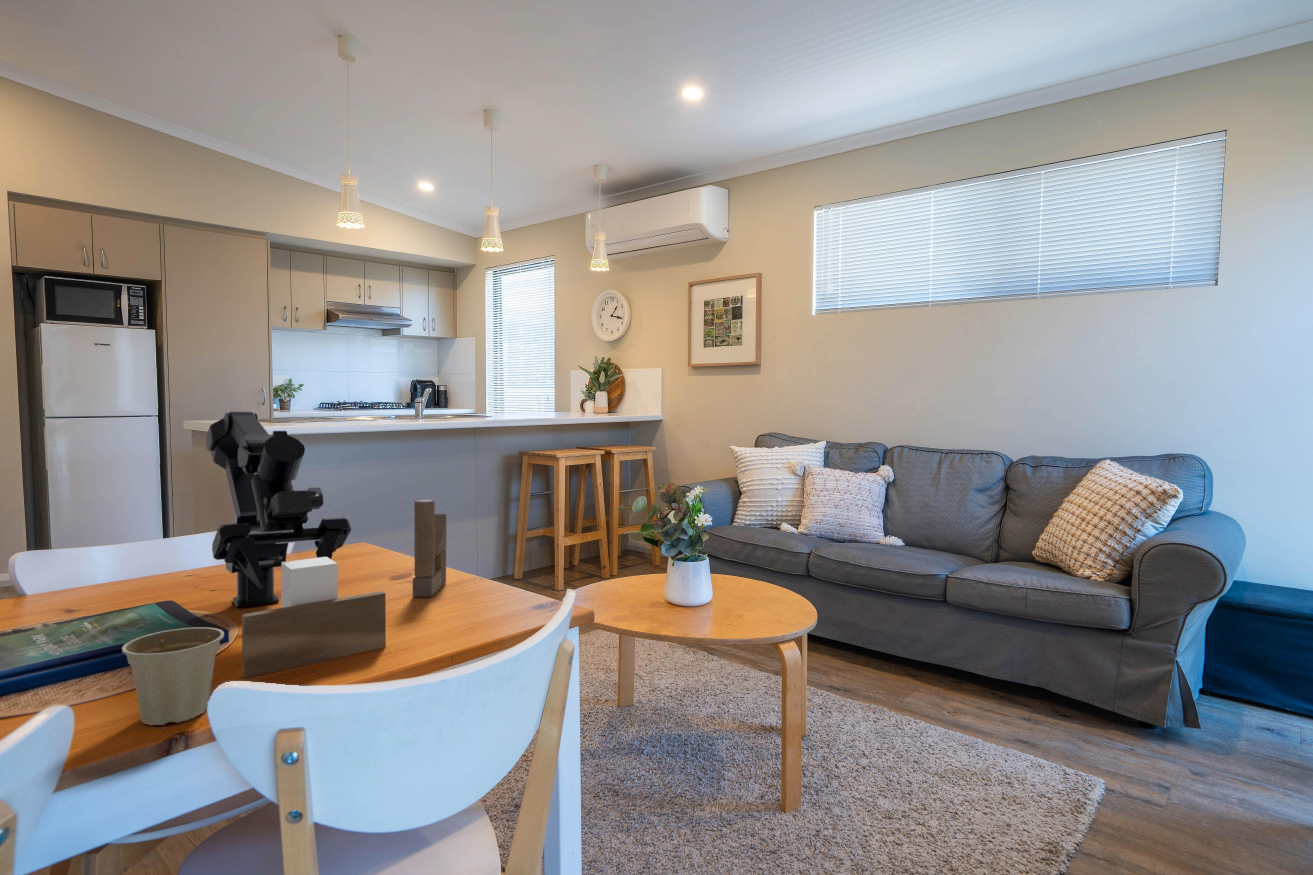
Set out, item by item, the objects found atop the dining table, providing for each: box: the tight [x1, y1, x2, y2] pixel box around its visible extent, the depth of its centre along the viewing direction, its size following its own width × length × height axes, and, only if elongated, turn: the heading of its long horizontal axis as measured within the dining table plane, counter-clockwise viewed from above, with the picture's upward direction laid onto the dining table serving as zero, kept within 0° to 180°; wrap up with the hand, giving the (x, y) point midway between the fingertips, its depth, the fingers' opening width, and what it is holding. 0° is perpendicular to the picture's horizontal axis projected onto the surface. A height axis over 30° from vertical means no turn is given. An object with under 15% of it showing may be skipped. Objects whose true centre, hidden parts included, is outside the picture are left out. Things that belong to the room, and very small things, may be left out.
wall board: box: [241, 590, 387, 679], centre depth 94 cm, size 3×18×8 cm, turn 132°
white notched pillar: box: [280, 557, 339, 608], centre depth 97 cm, size 6×6×13 cm
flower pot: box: [121, 626, 225, 726], centre depth 77 cm, size 9×9×9 cm
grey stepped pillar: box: [412, 498, 447, 598], centre depth 131 cm, size 4×11×18 cm, turn 3°
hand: (295, 582), depth 103 cm, fingers open, 9 cm apart
